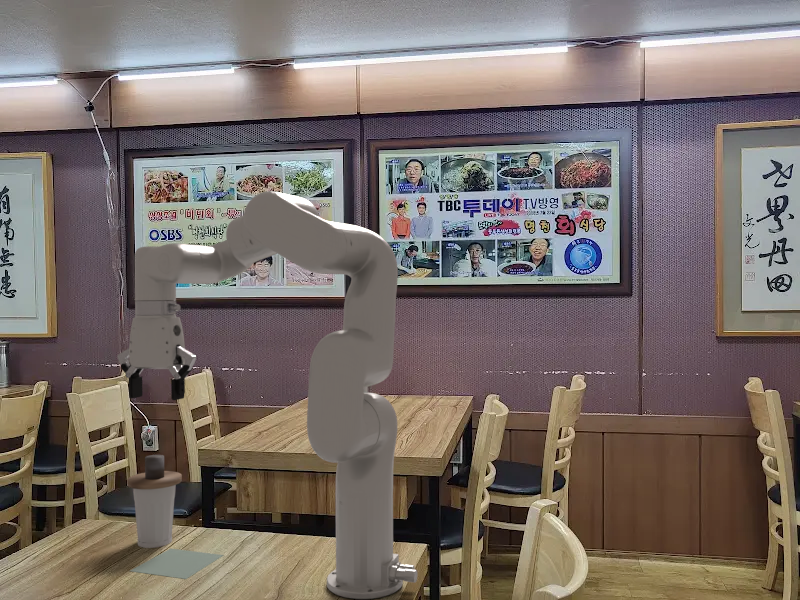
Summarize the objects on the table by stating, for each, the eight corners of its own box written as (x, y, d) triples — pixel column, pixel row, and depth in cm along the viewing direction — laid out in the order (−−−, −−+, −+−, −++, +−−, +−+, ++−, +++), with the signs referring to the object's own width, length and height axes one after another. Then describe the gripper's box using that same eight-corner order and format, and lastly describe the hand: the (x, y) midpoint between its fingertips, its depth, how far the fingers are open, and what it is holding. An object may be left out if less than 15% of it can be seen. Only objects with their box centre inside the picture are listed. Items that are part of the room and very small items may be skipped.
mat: (223, 557, 130) (223, 555, 130) (186, 581, 119) (186, 578, 119) (170, 550, 133) (170, 548, 133) (129, 573, 122) (129, 570, 122)
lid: (192, 478, 140) (191, 452, 140) (160, 491, 131) (160, 464, 131) (149, 474, 143) (149, 449, 143) (115, 487, 134) (115, 460, 134)
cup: (162, 552, 132) (162, 488, 132) (124, 549, 134) (124, 486, 134) (184, 538, 140) (183, 478, 140) (147, 535, 142) (147, 476, 142)
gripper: (205, 309, 138) (206, 397, 138) (131, 310, 143) (132, 394, 143) (182, 310, 131) (183, 402, 131) (105, 310, 136) (106, 399, 136)
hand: (156, 398), depth 137 cm, fingers open, 9 cm apart
